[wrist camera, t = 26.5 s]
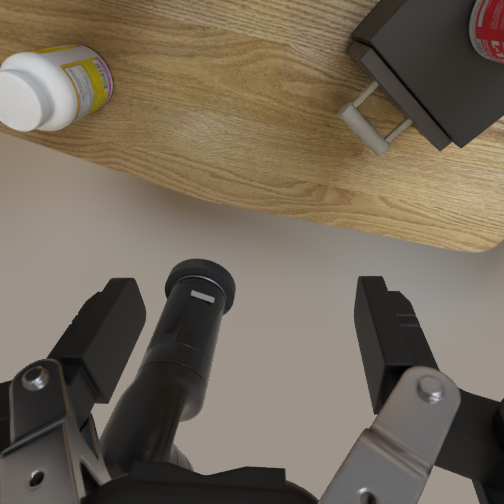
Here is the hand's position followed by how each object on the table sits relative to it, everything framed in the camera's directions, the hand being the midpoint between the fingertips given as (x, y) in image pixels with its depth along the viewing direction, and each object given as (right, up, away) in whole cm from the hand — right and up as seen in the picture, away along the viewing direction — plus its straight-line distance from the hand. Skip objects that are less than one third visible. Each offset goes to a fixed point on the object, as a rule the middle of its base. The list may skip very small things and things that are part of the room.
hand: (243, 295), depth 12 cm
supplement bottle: (-18, +21, +26) cm, 39 cm away
